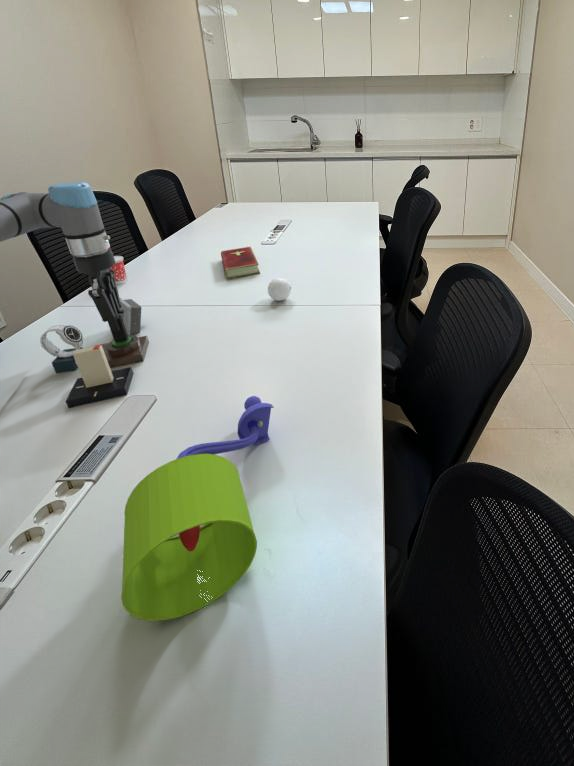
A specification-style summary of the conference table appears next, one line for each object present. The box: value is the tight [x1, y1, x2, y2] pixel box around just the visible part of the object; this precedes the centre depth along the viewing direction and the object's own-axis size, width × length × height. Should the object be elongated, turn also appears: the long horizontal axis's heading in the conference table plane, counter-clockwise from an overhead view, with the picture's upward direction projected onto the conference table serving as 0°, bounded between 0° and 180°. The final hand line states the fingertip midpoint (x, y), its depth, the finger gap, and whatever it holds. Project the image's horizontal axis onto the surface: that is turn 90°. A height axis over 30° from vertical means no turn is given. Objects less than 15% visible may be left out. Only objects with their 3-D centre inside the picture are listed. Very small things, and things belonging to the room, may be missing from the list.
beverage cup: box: [109, 246, 128, 285], centre depth 139 cm, size 6×6×14 cm
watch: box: [39, 324, 84, 374], centre depth 94 cm, size 6×8×11 cm
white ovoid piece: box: [267, 277, 292, 302], centre depth 125 cm, size 10×7×7 cm
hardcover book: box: [220, 246, 261, 280], centre depth 151 cm, size 12×21×4 cm, turn 24°
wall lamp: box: [120, 395, 275, 622], centre depth 60 cm, size 15×23×30 cm
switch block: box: [94, 334, 150, 369], centre depth 98 cm, size 12×9×4 cm
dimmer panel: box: [65, 366, 134, 409], centre depth 87 cm, size 11×9×2 cm
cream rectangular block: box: [73, 344, 114, 388], centre depth 85 cm, size 5×2×9 cm, turn 110°
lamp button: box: [113, 336, 132, 348], centre depth 98 cm, size 4×4×2 cm
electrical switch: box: [119, 296, 142, 335], centre depth 109 cm, size 9×5×9 cm, turn 49°
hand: (121, 339), depth 97 cm, fingers closed
